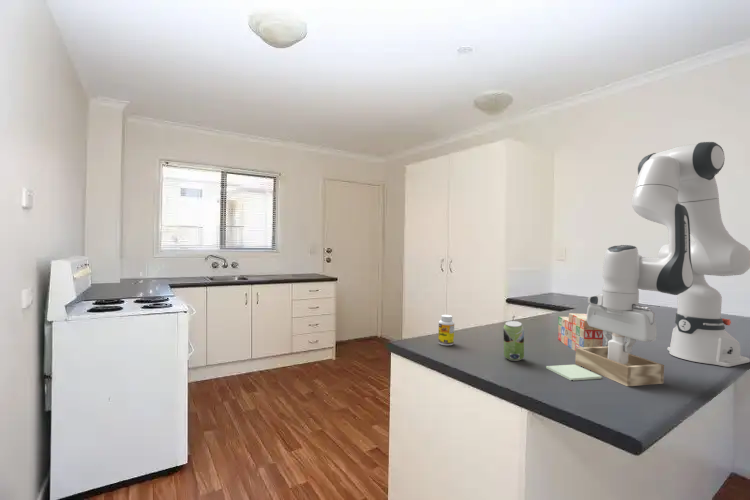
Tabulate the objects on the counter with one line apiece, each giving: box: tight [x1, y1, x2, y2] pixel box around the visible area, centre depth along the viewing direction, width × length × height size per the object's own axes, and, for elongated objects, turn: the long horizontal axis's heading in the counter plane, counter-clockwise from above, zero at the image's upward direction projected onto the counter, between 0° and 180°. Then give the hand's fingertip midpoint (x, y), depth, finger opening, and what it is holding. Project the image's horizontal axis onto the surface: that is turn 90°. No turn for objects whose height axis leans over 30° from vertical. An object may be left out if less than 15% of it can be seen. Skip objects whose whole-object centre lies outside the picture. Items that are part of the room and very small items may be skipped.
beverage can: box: [503, 320, 525, 362], centre depth 118 cm, size 6×7×12 cm
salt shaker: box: [608, 333, 628, 364], centre depth 107 cm, size 4×4×10 cm
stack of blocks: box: [557, 312, 604, 352], centre depth 133 cm, size 21×6×12 cm, turn 175°
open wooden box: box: [574, 345, 665, 387], centre depth 107 cm, size 12×18×5 cm, turn 13°
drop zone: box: [545, 364, 603, 381], centre depth 106 cm, size 10×10×1 cm
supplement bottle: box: [437, 314, 455, 346], centre depth 134 cm, size 6×6×10 cm
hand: (618, 349), depth 107 cm, fingers closed on salt shaker, 4 cm apart
